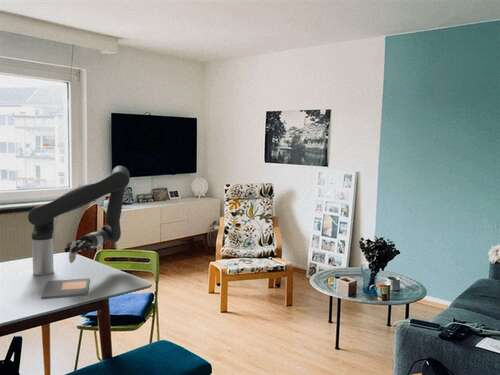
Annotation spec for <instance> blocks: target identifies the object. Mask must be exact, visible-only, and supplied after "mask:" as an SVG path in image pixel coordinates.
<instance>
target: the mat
mask: <svg viewBox="0 0 500 375" xmlns="http://www.w3.org/2000/svg"><path fill="white" fill-rule="evenodd" d="M89 285H90V278H89V277H87V278H74V279H73V278H72V279H71V278H70V279H61V280H60V279H59V280H58V279H57V280H47V282H46V285H45V287H44V289H43V292H42V294H41V296H40V299H41V300H44V299H56V298H58V299H59V298H68V297H79V296H81V297H82V296H88V292H89Z"/></svg>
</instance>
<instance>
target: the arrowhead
mask: <svg viewBox="0 0 500 375" xmlns="http://www.w3.org/2000/svg"><path fill="white" fill-rule="evenodd" d="M71 242H72V245H71V247H70V251H69V252H68V254H69V255H68V259H69V260H68V261H69V263H70V264H72V263H74V262H75V260H76V257H77V255H78V251H77V252H75V253H71V248H73V247H76V243H75V242H76V241H75V240H72V241H71Z"/></svg>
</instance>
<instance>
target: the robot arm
mask: <svg viewBox="0 0 500 375" xmlns="http://www.w3.org/2000/svg"><path fill="white" fill-rule="evenodd" d="M130 177H131V174H130V171H129V169H128V168H127V167H125V166H124V165H116V166H115V167H114V168H113V169H112V170H111V172H110V175H109V176H106V177H105V178H103V179H102V180H100V181H97V182H93V183H87V184H83V185H80V186H78V187H76V188H74V189H71V190H70V191H68V192H65V193H64V194H62V195H61V196H58V197H57V198H56V199H54V200H52V201H50V202H48V203H44V204H41V205H38V206H35V207H33V208H32V209H30V211H29V212H28V215H27V220H28V222H29V223H30V224H31V225H33V226H34V227H33V230H32V233H31V252H32V275H34V276H46V275H50V274H53V273H54V272H55V271H54V242H53V239H54V238H53V235H54V234H53V233H54V231H55V218H56V217H59V216H61V215H64V214H65V213H69V212H72V211H75V210H77V209H80V208H83V207H84V206H87V205H88V204H90V203H92V202H94V201H97V200H98V199H100V198H103V197H104V196H106V195H109V199H108V203H107V207H106V213H105V218H104V219H105V220H104V221H105V223H106V224H107V225H102V226H101V227H100V228H99V229H98V230H97V231H93V232H90V233H87V234H84V235H82V236H81V237H80V238H79V239H78V240H76V241H75V243H76V247H73V248H71V253H75V252H77V253H78V252H90V251H92V250H95V249H96V248H97V249H98V248H99V247H100V246H103V245H105V244H106V243H108V242H111V243H114V244H115V243H117V242H118V241H119V240H120V238H121V237H122V236H121V235H122V232H121V223H120V222H121V221H120V220H121V216H122V209H123V199H124V195H125V194H124V193H125V189H126V187H127V186H128V185H129V183H130ZM72 242H73V241H67V244H66V247H64V253H69V252H70V247H71V245H72Z"/></svg>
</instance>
